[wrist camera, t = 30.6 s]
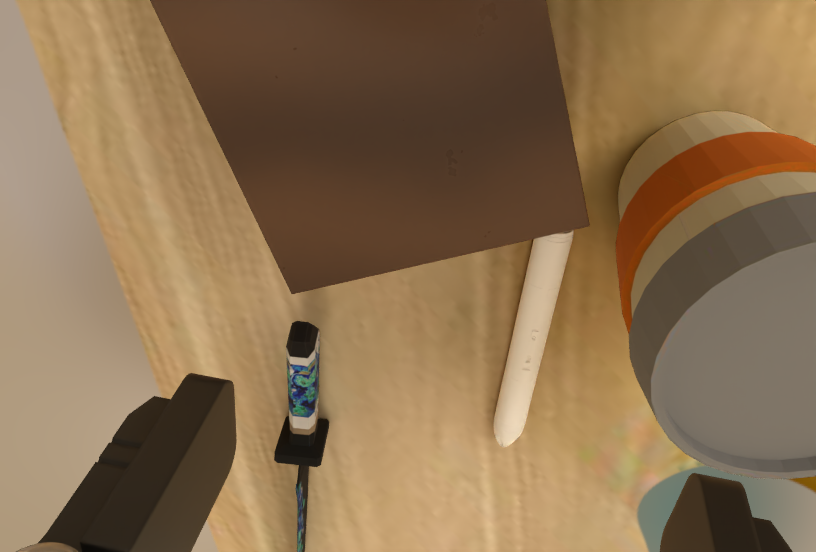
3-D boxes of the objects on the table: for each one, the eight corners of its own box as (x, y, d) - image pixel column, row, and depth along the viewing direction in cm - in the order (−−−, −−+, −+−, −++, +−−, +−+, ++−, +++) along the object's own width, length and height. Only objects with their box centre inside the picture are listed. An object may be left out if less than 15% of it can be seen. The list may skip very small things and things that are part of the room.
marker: (516, 437, 51) (519, 463, 49) (487, 434, 51) (488, 460, 49) (572, 217, 41) (578, 238, 39) (536, 213, 41) (540, 234, 39)
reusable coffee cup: (654, 316, 45) (732, 521, 32) (540, 171, 40) (580, 348, 27) (860, 205, 40) (1044, 397, 28) (760, 23, 35) (931, 158, 22)
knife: (297, 285, 43) (281, 339, 40) (347, 294, 43) (336, 348, 40) (276, 544, 63) (265, 595, 60) (311, 550, 63) (301, 601, 60)
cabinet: (218, -53, 34) (148, -2, 26) (503, -151, 31) (521, -126, 23) (322, 195, 41) (291, 294, 33) (561, 134, 38) (590, 226, 31)
